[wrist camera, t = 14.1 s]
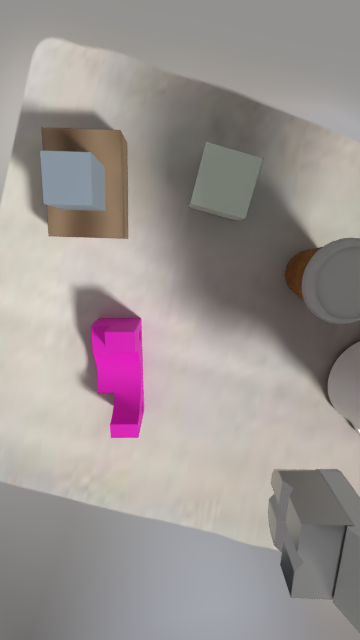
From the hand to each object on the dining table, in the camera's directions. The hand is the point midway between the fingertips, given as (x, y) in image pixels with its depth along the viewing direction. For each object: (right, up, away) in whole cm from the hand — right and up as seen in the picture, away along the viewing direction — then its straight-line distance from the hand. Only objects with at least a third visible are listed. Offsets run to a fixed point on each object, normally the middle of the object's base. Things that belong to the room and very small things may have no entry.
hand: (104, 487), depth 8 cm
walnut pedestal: (-10, +21, +35) cm, 42 cm away
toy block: (-7, -3, +41) cm, 42 cm away
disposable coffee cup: (+20, +11, +38) cm, 44 cm away
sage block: (+7, +22, +35) cm, 42 cm away
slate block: (-10, +20, +30) cm, 37 cm away
